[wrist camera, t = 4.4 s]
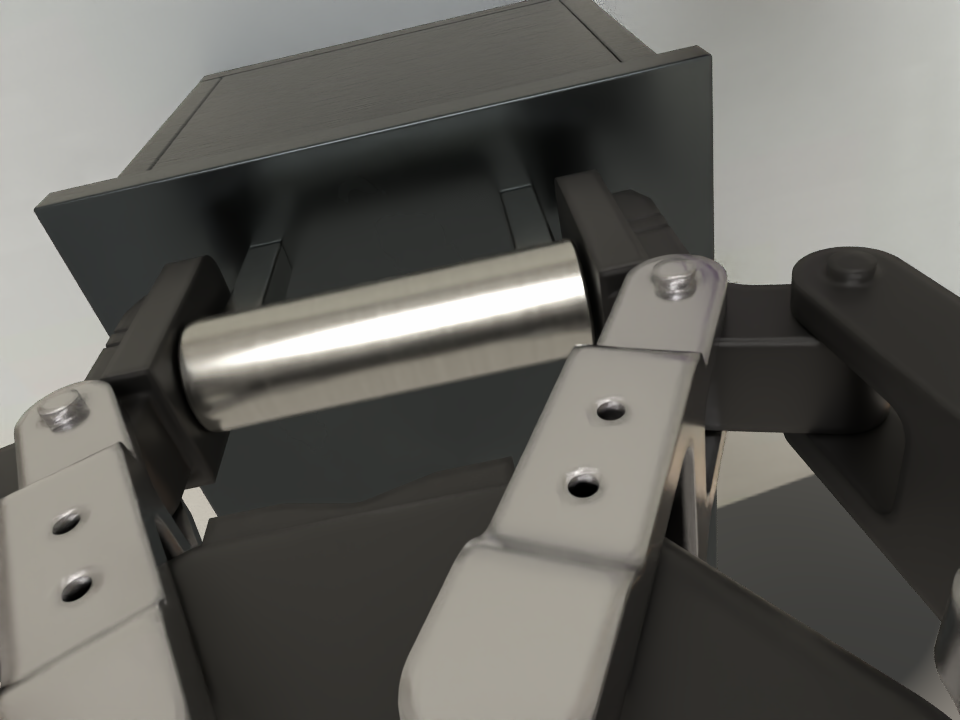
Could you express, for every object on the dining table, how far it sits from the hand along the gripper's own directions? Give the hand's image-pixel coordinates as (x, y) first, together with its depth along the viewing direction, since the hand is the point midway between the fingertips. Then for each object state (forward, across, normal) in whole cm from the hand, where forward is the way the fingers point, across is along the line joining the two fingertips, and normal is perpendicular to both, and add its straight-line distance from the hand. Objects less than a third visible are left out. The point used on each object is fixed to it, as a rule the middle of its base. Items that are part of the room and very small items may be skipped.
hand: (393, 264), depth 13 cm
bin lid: (+2, 0, +6) cm, 7 cm away
